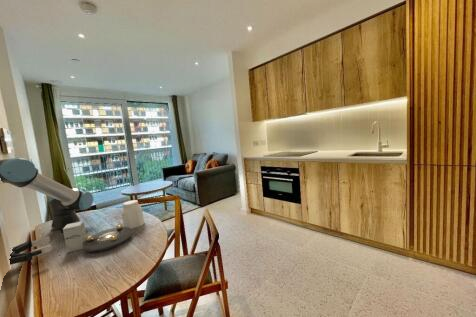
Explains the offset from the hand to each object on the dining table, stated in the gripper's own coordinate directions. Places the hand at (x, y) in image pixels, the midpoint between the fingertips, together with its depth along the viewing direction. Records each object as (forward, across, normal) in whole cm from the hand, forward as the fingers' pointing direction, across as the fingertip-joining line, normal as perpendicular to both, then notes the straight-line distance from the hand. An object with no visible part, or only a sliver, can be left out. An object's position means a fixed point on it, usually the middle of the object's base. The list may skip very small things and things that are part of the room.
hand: (50, 242), depth 102 cm
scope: (+9, -20, -7) cm, 23 cm away
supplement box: (+10, 0, -7) cm, 12 cm away
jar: (+39, -3, -7) cm, 39 cm away
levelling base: (+22, +9, -7) cm, 25 cm away
